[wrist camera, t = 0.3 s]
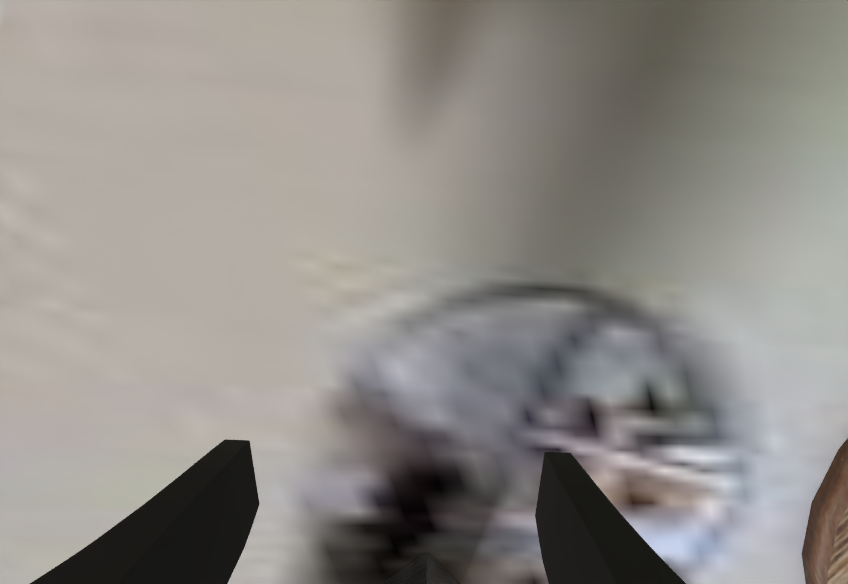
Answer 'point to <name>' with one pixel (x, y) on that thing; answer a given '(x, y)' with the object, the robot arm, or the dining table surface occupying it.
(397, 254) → the dining table surface
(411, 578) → the brushed metal block
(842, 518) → the trivet
